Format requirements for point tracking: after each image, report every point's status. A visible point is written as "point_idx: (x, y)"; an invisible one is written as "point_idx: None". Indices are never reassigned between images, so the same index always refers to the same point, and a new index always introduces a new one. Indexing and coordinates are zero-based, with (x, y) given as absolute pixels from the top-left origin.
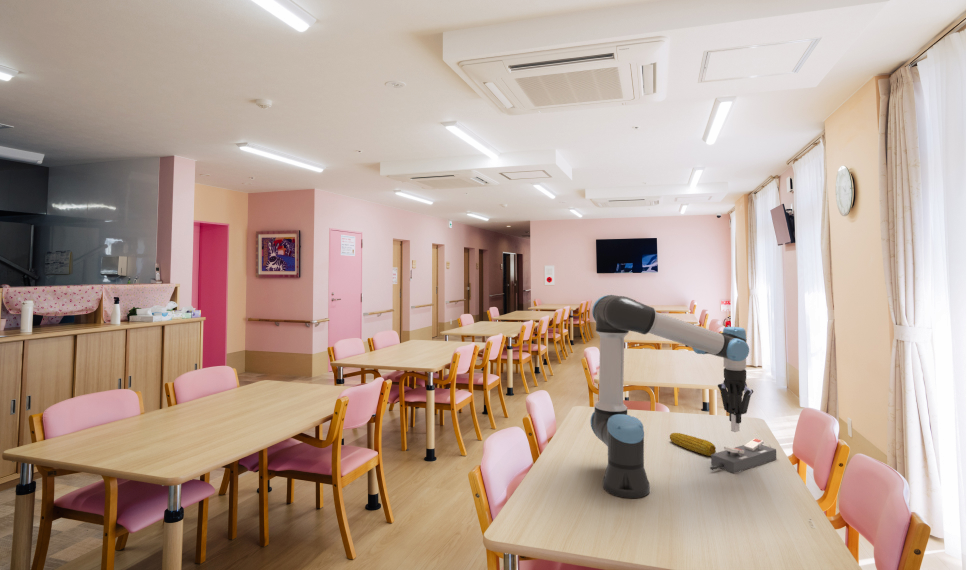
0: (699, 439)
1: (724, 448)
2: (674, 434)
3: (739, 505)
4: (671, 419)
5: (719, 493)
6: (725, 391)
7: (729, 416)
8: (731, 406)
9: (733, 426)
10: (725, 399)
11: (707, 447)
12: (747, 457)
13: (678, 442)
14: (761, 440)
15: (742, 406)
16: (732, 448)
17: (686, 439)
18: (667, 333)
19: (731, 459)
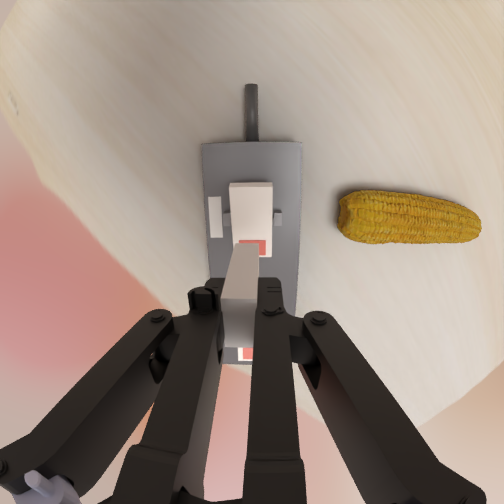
0: (404, 226)
1: (270, 184)
2: (473, 219)
3: (94, 19)
4: (493, 343)
5: (149, 12)
6: (373, 486)
7: (280, 294)
8: (254, 348)
9: (241, 255)
10: (343, 397)
11: (355, 198)
12: (210, 233)
13: (448, 201)
14: (244, 360)
15: (120, 357)
16: (255, 218)
17: (436, 207)
18: None
19: (225, 163)
